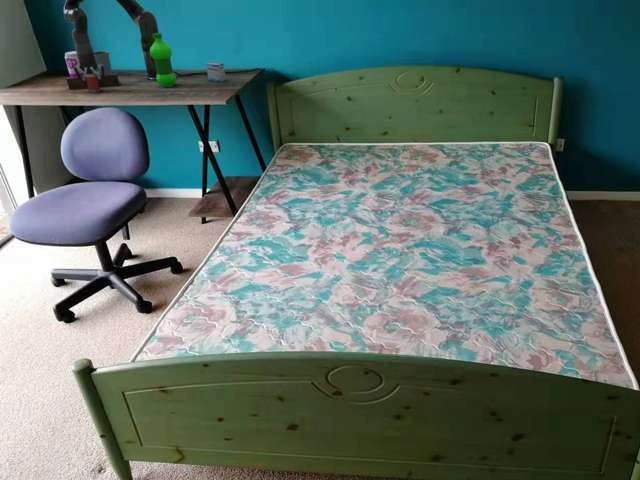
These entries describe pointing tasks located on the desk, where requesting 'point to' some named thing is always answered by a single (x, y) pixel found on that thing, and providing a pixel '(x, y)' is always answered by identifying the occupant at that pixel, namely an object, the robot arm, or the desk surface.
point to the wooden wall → (107, 81)
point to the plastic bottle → (162, 61)
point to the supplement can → (72, 63)
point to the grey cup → (103, 61)
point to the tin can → (92, 83)
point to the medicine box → (215, 72)
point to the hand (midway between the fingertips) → (94, 87)
